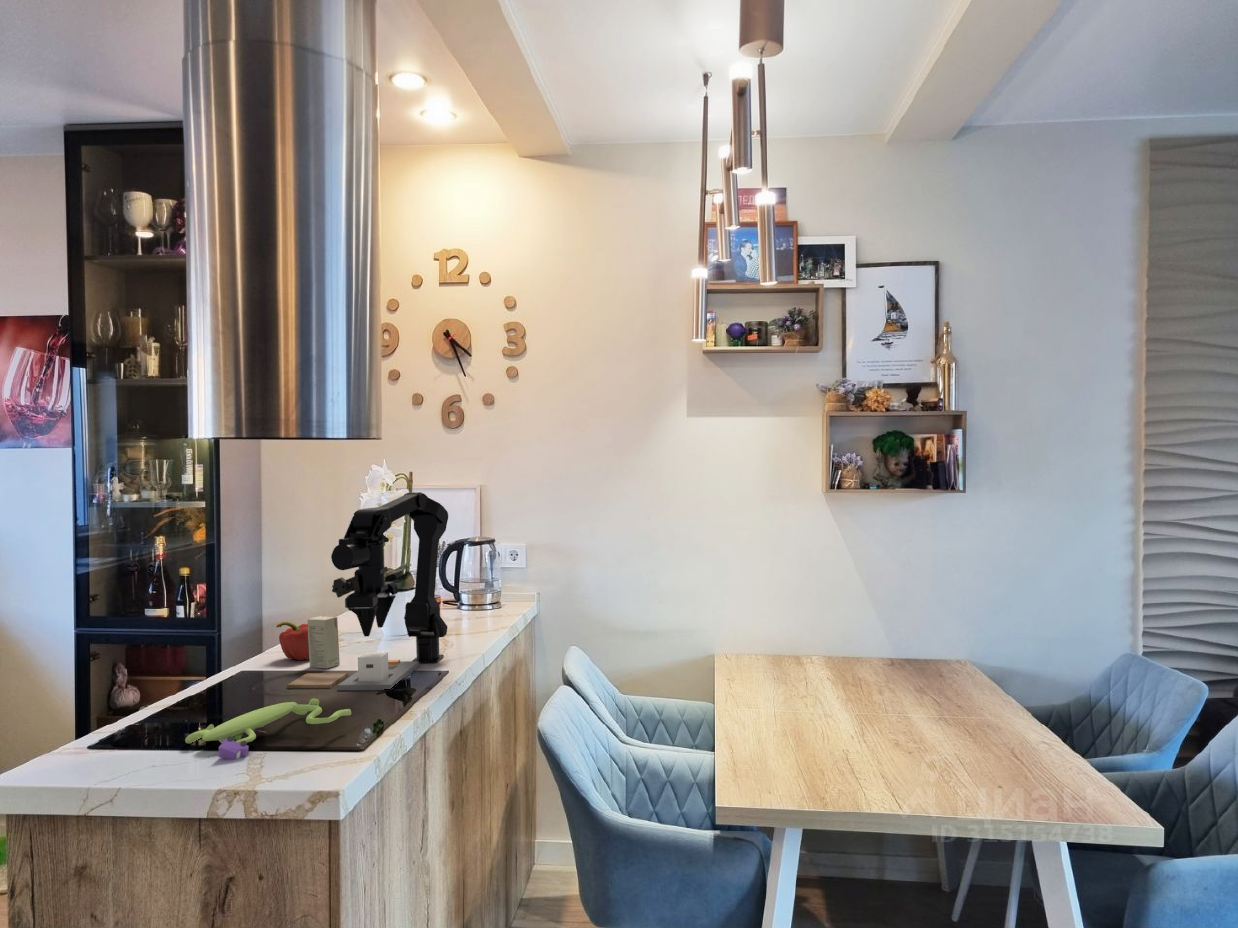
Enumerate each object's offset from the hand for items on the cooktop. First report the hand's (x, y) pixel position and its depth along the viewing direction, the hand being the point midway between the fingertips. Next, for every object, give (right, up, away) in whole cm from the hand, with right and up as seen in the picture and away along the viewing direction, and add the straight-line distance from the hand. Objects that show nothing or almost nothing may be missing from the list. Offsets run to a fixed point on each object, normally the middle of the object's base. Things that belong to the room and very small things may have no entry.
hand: (373, 631), depth 187 cm
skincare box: (-18, -12, +17) cm, 28 cm away
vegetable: (-27, -13, +26) cm, 39 cm away
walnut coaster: (-13, -12, +2) cm, 18 cm away
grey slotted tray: (0, -12, +5) cm, 13 cm away
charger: (0, -12, 0) cm, 12 cm away
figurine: (-8, -13, -36) cm, 39 cm away
